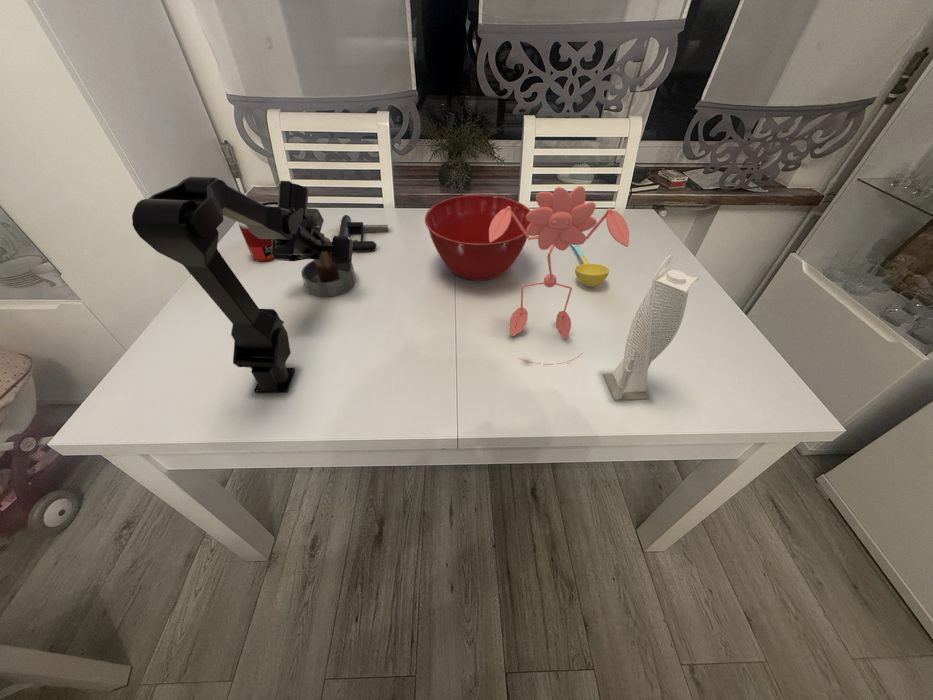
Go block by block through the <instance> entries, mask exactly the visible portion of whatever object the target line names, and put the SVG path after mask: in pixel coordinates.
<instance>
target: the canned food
mask: <svg viewBox="0 0 933 700" xmlns="http://www.w3.org/2000/svg"><path fill="white" fill-rule="evenodd" d="M237 224H238V226H239V227H238V228H239V230H240V231H241V234H242V236H243V239H244V241H245V243H246V246H247V248H248V250H249V253H250V255H251V257H252V258H253V259H254V260H255V261H257V262H261V263H265V262H271V261H274V260H275V259H274V258H273V256H272V254H271V249H272V239H259V238H258V237H256V236H255V235H253V234H252V233H250V232H249V231H248V226H246V225H245V224H242V223H240V222H238V221H237Z"/></svg>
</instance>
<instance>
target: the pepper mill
mask: <svg viewBox="0 0 933 700" xmlns="http://www.w3.org/2000/svg"><path fill="white" fill-rule="evenodd" d="M322 234H323V240H321V241H331V239H330V238H329V237H326V236H325V233H322ZM325 246H326V245H325ZM330 246H331V245H330ZM331 254H332V252H324V251H322V252H321V254H320V258H319V260H317V259H313V260H314V261H315V265H316V268H317V271H318V275H319V278H320V281H321V282H330V281H335V280H337V279H340V277H339V273H338V269H337V265H336V264H335V263H334V262H333V261H332V258H331Z"/></svg>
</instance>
